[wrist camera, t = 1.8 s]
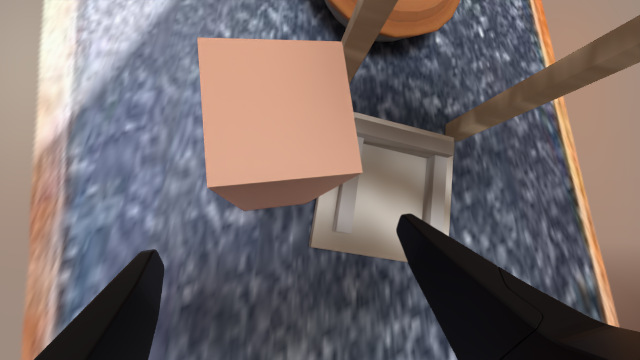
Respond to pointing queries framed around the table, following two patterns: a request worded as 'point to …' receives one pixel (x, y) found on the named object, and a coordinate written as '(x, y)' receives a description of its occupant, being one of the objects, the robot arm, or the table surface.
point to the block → (276, 120)
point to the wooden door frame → (434, 141)
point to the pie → (402, 17)
